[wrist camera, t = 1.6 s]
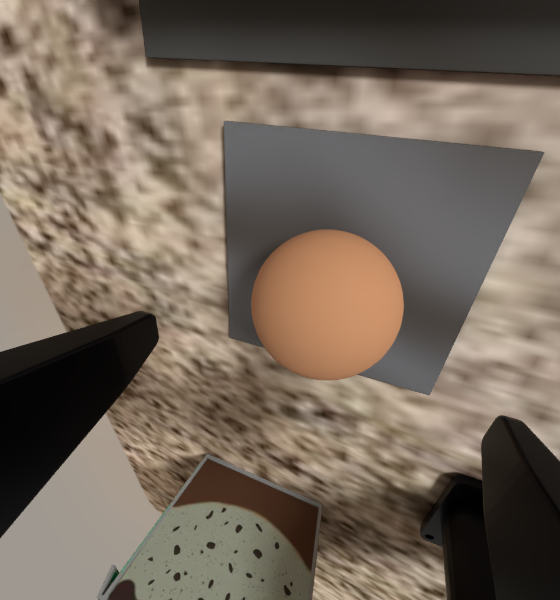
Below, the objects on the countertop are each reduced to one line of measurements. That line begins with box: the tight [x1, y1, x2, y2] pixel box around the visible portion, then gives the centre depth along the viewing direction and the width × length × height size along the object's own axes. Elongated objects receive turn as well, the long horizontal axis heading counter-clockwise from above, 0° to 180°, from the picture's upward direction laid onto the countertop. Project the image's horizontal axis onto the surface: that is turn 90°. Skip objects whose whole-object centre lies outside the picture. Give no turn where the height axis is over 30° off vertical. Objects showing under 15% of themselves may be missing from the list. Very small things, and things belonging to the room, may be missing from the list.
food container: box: [97, 454, 323, 600], centre depth 21 cm, size 12×6×10 cm, turn 82°
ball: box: [251, 229, 404, 380], centre depth 11 cm, size 5×5×5 cm
